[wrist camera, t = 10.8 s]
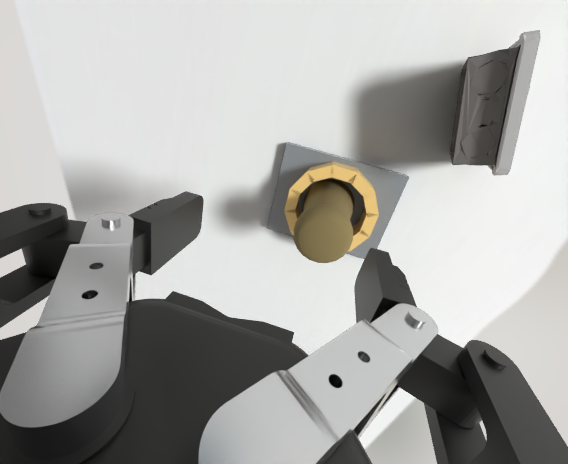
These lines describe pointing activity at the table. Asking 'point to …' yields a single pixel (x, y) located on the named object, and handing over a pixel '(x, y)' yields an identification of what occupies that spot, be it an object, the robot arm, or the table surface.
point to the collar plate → (356, 175)
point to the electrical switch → (493, 105)
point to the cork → (325, 222)
